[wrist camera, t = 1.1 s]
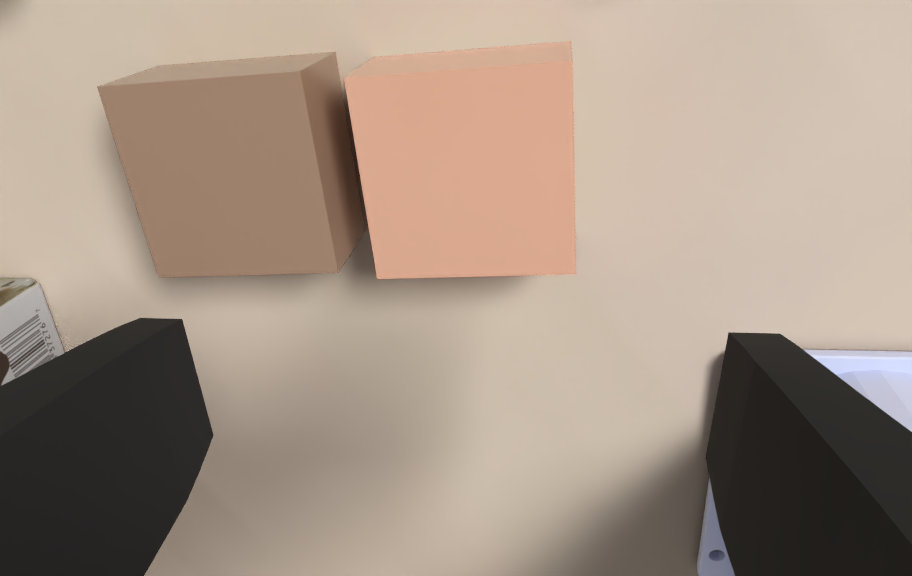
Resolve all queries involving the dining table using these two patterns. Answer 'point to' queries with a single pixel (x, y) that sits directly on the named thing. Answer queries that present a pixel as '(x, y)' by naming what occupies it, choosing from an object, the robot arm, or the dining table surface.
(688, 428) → the dining table surface
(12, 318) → the coffee box
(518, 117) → the salmon pink block
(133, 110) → the wooden block
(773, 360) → the robot arm
